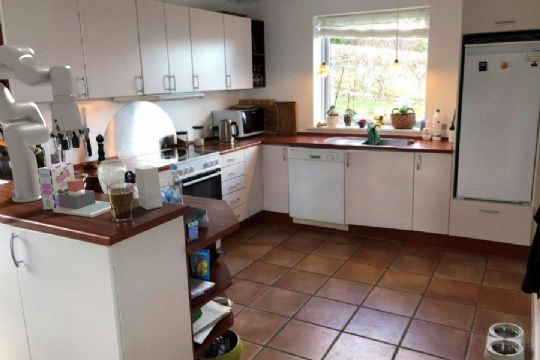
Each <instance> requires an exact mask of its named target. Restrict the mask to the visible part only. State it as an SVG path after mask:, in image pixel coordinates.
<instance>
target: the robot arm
mask: <svg viewBox="0 0 540 360" xmlns="http://www.w3.org/2000/svg"><path fill="white" fill-rule="evenodd" d="M36 63H37V62H36V53H35V52H34V50H33V48H31V47H30V46H29V45H23V44H1V45H0V80H15V79H16V80H17V81H18V82H20V83H22V84H23V85H26V86H29V87H33V88H37V87H39V88H40V87H51V92H52V93H51V94H52V101H53V104H51V111H50V113H51V114H50V116H51V117H50V121H51V127H52V129H51V130H50V129H49V127H48V124H47V123H46V120H45V119H44V116H43V114H42V113H41V111H40V109H39V107H38V106H37V104H36V103H35V102H34V101H32V100H29V99H19V100H17V99H15V98H14V96H13V95H12V92H11V91H10V89H8V87H6V85H4V84H3V83H1V82H0V122H1V123H2V124H4V125H8V126H6V127H5V128H4V130H3V133H2V134H3V139H4V140H3V141H4V143H5V145H6V148H7V152H8V156H9V160H10V167H11V173H12V180H13V184H14V188H13V189H12V190H11V193H12V194H14V196H12V202H15V203H28V202H35V201H39V200H42V197H41V190H40V183H39V175H38V162H37V157H36V154H35V153H34V152H33V151H32V149H31V148H30V147H31V146H37V145H43V144H46V143H48V142H49V141H50V139H51V138H50V136H51V134H53V135H54V136H56V137H57V138H58V140H60V141H59V142H60V147H61V150H62V151H69V150H70V147H69V145H70V144H69V139H67V132H70V133H71V135H72V136H71V145H72V146H71V147H72V149H80V147H81V145H80V139H79V138H80V137H81V134H82V132H83V131H84V129H85V126H84V124H83V123H82V117H81V113H80V109H79V106H78V103H77V101H76V100H77V98H78V97H77V95H76V93H75V86H74V85H75V84H74V77H73V71H72V67H71V66H69V65H64V64H63V65H61V64H60V65H58V64H57V65H36ZM50 131H51V132H50Z"/></svg>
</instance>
